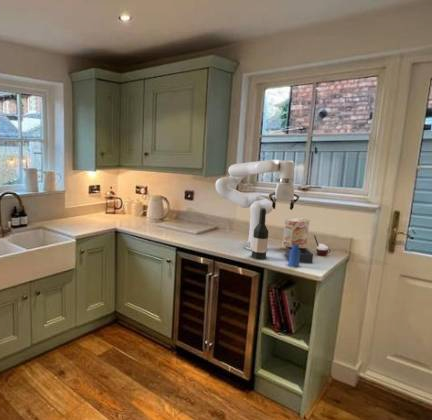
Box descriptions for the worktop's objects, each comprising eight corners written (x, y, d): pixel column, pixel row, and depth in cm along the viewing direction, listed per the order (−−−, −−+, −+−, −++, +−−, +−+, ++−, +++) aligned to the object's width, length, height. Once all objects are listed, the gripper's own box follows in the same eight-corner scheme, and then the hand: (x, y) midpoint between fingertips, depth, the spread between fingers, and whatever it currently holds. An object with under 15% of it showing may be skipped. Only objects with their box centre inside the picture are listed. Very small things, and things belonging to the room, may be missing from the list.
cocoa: (330, 254, 223) (332, 236, 221) (328, 257, 218) (331, 238, 216) (312, 252, 229) (315, 233, 227) (311, 254, 224) (313, 235, 222)
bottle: (289, 266, 200) (292, 245, 198) (287, 263, 205) (289, 243, 202) (299, 267, 199) (302, 246, 197) (297, 264, 203) (299, 244, 201)
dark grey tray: (290, 261, 210) (291, 252, 209) (285, 254, 223) (285, 246, 222) (312, 262, 207) (313, 254, 206) (305, 256, 220) (306, 248, 219)
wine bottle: (248, 255, 219) (253, 207, 214) (261, 255, 220) (266, 207, 214) (255, 259, 211) (259, 209, 205) (268, 259, 212) (273, 209, 206)
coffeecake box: (290, 251, 230) (294, 221, 226) (281, 248, 236) (284, 219, 233) (306, 248, 236) (310, 219, 232) (297, 245, 242) (300, 217, 239)
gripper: (271, 181, 214) (268, 209, 217) (302, 182, 210) (299, 211, 213) (268, 180, 221) (266, 207, 224) (299, 181, 217) (296, 208, 220)
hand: (282, 209), depth 219 cm, fingers open, 9 cm apart
